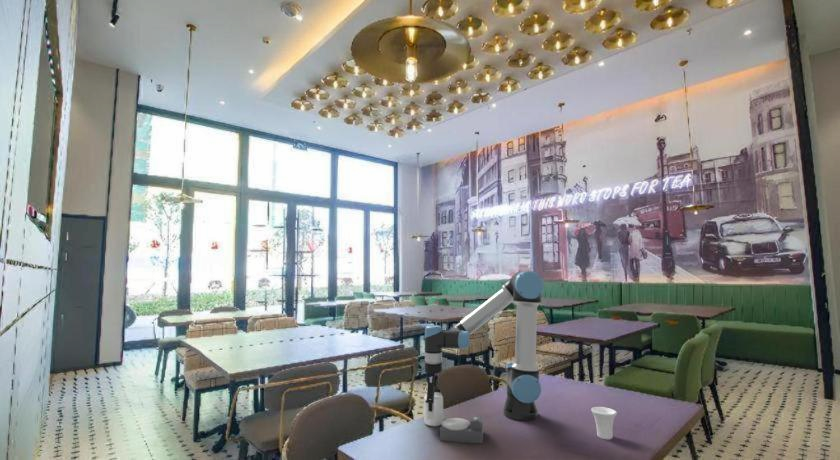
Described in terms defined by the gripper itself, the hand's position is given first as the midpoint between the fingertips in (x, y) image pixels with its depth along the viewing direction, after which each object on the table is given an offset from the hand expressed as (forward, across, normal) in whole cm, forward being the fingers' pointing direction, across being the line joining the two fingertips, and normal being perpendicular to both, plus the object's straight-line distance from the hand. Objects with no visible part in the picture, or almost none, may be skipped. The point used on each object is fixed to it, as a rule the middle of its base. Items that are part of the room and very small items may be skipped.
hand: (433, 413), depth 168 cm
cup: (+4, +2, +68) cm, 68 cm away
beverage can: (+4, 0, 0) cm, 4 cm away
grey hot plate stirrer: (+4, +11, +13) cm, 18 cm away
